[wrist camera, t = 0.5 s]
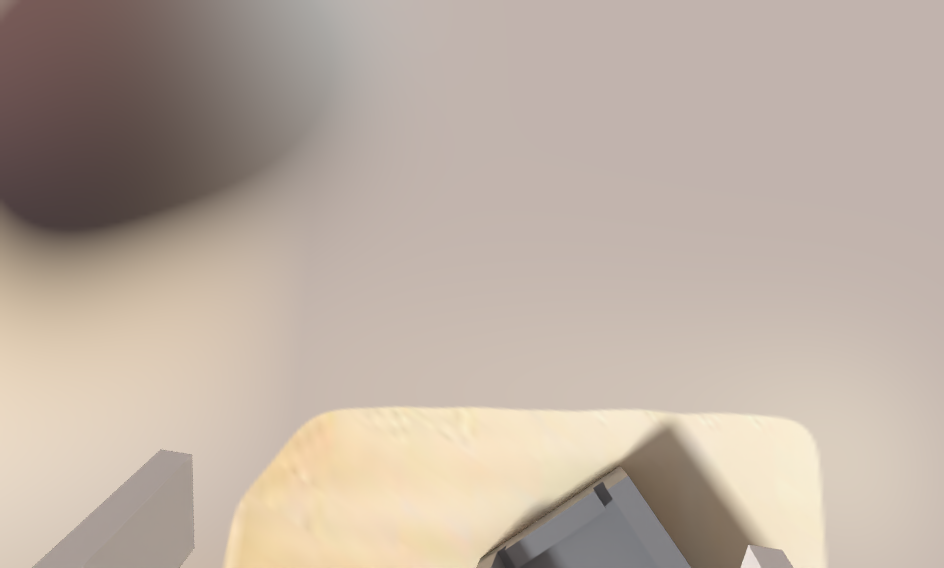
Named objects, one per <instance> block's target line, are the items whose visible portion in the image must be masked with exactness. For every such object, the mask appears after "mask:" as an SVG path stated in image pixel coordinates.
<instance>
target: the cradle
mask: <svg viewBox="0 0 944 568" xmlns="http://www.w3.org/2000/svg"><path fill="white" fill-rule="evenodd" d="M476 568H691V567H690V565H689V564H688V562H687V561H686V559H685V558H684V556H683V555H682V553H681V552H680V551H679V549H678V548H677V546H676V545H675V543H674V542H673V540H672V539H671V537H670V536H669V534H668V533H667V532H666V530H665V529H664V527H663V526H662V524H661V523H660V521H659V520H658V518H657V517H656V515H655V514H654V513H653V511H652V510H651V508H650V507H649V505H648V504H647V502H646V501H645V499H644V498H643V496H642V495H641V494H640V492H639V491H638V489H637V488H636V486H635V485H634V483H633V482H632V480H631V479H630V477H629V476H628V475H627V474H626V472H625V471H624V470H623V469H622V467H621V466H619V467H617V468H616V469H614V470H613V471H611V472H610V473H608V474H607V475H605V476H604V477H602V478H601V479H599V480H598V481H596V482H595V483H593V484H592V485H590V486H589V487H587V488H586V489H584V490H583V491H581V492H580V493H578V494H577V495H575V496H574V497H572V498H571V499H569V500H568V501H566V502H565V503H563V504H562V505H560V506H559V507H557V508H556V509H554V510H553V511H551V512H550V513H548V514H547V515H545V516H544V517H542V518H541V519H539V520H538V521H536V522H535V523H533V524H532V525H530V526H529V527H527V528H526V529H524V530H523V531H521V532H520V533H518V534H517V535H515V536H514V537H512V538H511V539H509V540H508V541H506V542H505V543H503V544H502V545H500V546H499V547H497V548H496V549H494V550H492V551H491V552H489V553H488V554H486V555H485V556H483V557H482V558H480V561H479V563H478V565H477V567H476Z"/></svg>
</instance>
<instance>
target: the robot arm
mask: <svg viewBox="0 0 944 568" xmlns="http://www.w3.org/2000/svg"><path fill="white" fill-rule="evenodd" d="M193 518H194V516H193V472H192V455H191V454H185V453H179V452H173V451H167V450H160V451H159V452H158V453H156V454H155V455H154V456H153V457H152V458H151V459H150V460H149V461H148V462H147V463H146V464H144V465H143V466H142V467H141V468H140V469H139V470H138V471H137V472H136V473H135V474H134V475H133V476H131V477H130V478H129V479H128V480H127V481H126V482H125V483H124V484H123V485H122V486H120V487H119V488H118V489H117V490H116V491H115V492H114V493H113V494H112V495H111V496H110V497H109V498H107V499H106V500H105V501H104V502H103V503H102V504H101V505H100V506H99V507H98V508H97V509H96V510H94V511H93V512H92V513H91V514H90V515H89V516H88V517H87V518H86V519H85V520H83V521H82V522H81V523H80V524H79V525H78V526H77V527H76V528H75V529H74V530H73V531H71V532H70V533H69V534H68V535H67V536H66V537H65V538H64V539H63V540H62V541H61V542H59V543H58V544H57V545H56V546H55V547H54V548H53V549H52V550H51V551H50V552H49V553H48V554H46V555H45V556H44V557H43V558H42V559H41V560H40V561H39V562H38V563H37V564H35V566H33V567H32V568H180V566H181V565H182V564H183V562H184V561H185V560H186V559H187V557H188V556H189V554H190V553H191V552H192V551H193V549H194V519H193ZM741 568H793V566H792V565H791V563H790V562H789V560H788V559H787V557H786V555H785V554H784V552H783V551H782V550H778V549H772V548H766V547H760V546H754V545H748V548H747V550H746V553H745V556H744V559H743V562H742V565H741Z"/></svg>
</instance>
